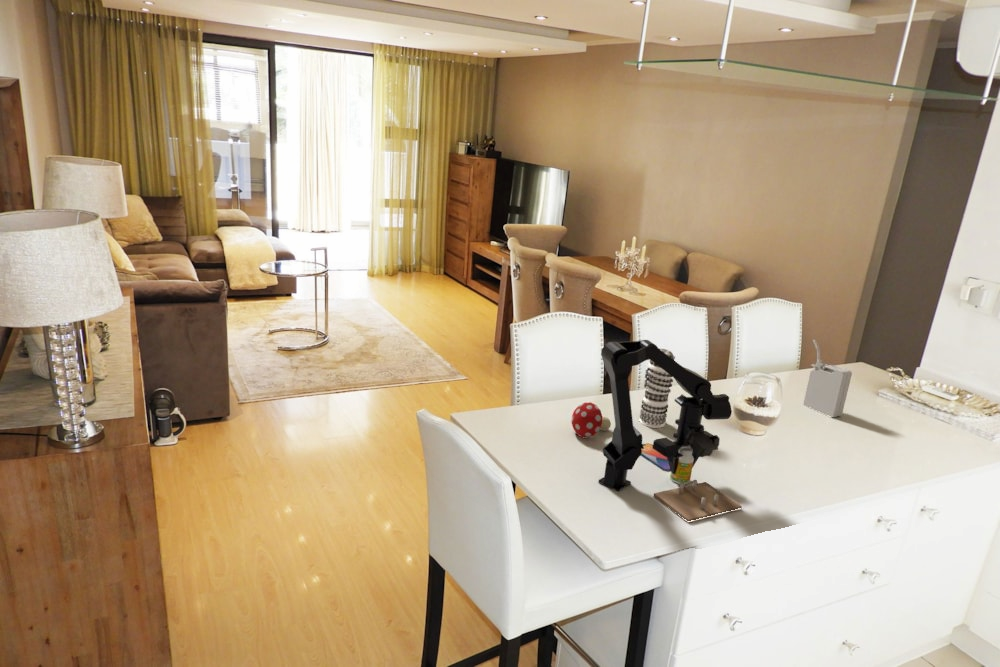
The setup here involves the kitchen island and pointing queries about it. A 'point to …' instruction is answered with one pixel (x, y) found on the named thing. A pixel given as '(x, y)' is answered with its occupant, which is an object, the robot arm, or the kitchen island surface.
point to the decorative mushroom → (589, 420)
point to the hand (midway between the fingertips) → (681, 471)
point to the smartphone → (655, 457)
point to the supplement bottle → (683, 466)
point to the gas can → (827, 387)
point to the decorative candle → (656, 395)
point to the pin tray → (696, 501)
